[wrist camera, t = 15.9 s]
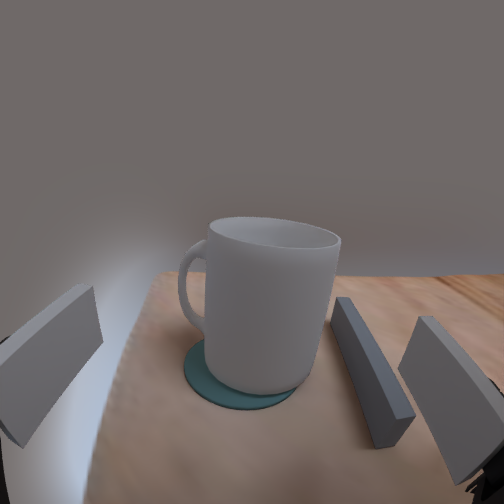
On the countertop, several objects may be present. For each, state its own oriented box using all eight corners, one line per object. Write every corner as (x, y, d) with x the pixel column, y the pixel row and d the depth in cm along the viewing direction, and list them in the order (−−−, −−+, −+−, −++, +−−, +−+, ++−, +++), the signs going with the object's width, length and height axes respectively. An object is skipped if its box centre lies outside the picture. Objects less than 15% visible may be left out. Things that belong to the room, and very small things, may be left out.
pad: (229, 324, 29) (230, 321, 29) (316, 359, 24) (317, 356, 24) (160, 369, 21) (159, 365, 20) (262, 430, 16) (263, 427, 16)
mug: (321, 399, 18) (363, 255, 15) (163, 390, 18) (152, 237, 14) (301, 334, 27) (321, 223, 24) (185, 326, 27) (186, 211, 23)
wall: (329, 323, 31) (336, 296, 30) (342, 323, 31) (349, 297, 30) (375, 449, 14) (396, 419, 13) (394, 445, 14) (416, 415, 12)
